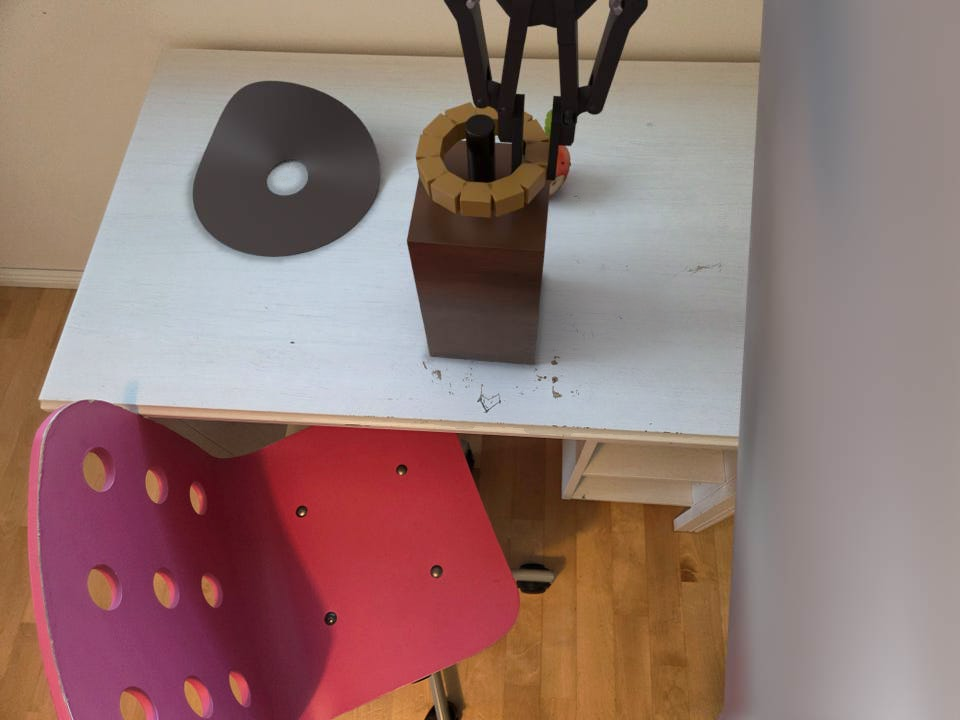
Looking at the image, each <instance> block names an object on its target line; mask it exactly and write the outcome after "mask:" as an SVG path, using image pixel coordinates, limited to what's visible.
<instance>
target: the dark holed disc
mask: <svg viewBox="0 0 960 720" xmlns="http://www.w3.org/2000/svg"><path fill="white" fill-rule="evenodd" d="M289 159H290V160H291V159H292V160H296V161H298V162H300V163H302V164H303V166H304V167H305V169H306V171H307V180H306V183H305V185H304V186H303V187H302V188H301V189H299V190H298V191H296V192H294V193H290V194H285V195H284V194H283V195H282V194H277V193H275V192H273V191H272V190H271V189H270V188H269V187H268V184H267V179H268V176H269V174H270V173H271V171H272V170H273V169H274V168H275V167H276V166H277V165H278V164H279V163H280V162H282V161H285V160H289ZM380 170H381V169H380V160H379V155H378V151H377V147H376V144H375V142H374V139H373V137H372V135H371V133H370V132H369V129H368V128H367V126H366V125H365V124H364V122H363V121H362V119H360V117H359V116H358V115H357V114H356V113H355V112H354V111H353V110H352V109H351V108H350V107H348V106H347V105H346V104H344V102H342V101H340V100H339V99H337V98H336V97H334V96H332V95H330V94H328V93H325V92H324V91H321V90H319V89H316V88H313V87H311V86H307V85H303V84H300V83H296V82H295V83H294V82H290V81H281V80H261V81H255V82H251V83H249V84H247V85H244V86H243V87H241V88H240V89H238V90H237V91H236V92H235V93H234V94H233V95H232V97H230V98H229V100H228V102H227V103H226V105H225V106H224V108H223V110H222V112H221V113H220V116H219V118H218V120H217V122H216V124H215V126H214V129H213V131H212V133H211V136H210V137H209V141H208V143H207V145H206V147H205V149H204V152H203V154H202V156H201V160H200V161H199V165H198V167H197V170H196V173H195V176H194V180H193V185H192V203H193V208H194V211H195V214H196V217H197V219H198V220H199V222H200V224H201V225H202V227H203V228H204V229H205V230H206V232H208V233H209V234H210V236H212V237H213V238H214V239H215V240H216V241H218V242H220V243H221V244H223V245H224V246H226V247H228V248H231V249H233V250H236V251H238V252H241V253H245V254H249V255H254V256H263V257H279V256H280V257H281V256H282V257H283V256H284V257H285V256H292V255H296V254H297V255H298V254H302V253H305V252H310V251H312V250H315V249H318V248H320V247H323V246H325V245H327V244H329V243H331V242H333V241H334V240H336V239H338V238H340V237H341V236H343V235H344V234H346V233H347V232H348V231H350V230H351V229H352V228H353V227H354V226H355V225H356V224H357V223H358V222H360V220H362V219H363V217H365V215H366V214H367V212H368V210H369V209H370V208H371V206H372V204H373V202H374V200H375V199H376V196H377V193H378V192H377V191H378V189H379V183H380V175H381V174H380V172H381V171H380Z"/></svg>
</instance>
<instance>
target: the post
mask: <svg viewBox="0 0 960 720" xmlns="http://www.w3.org/2000/svg"><path fill="white" fill-rule="evenodd" d="M465 133H466V139H465V141H466V149H467V165H468V181H469V182H481V183H491V182H494V181H496V159H495V143H496V136H495V122H494V120H493V119H492V118H491V117H489V116H487V115H484V114H477V115H474V116H472V117H470V118H469V119H468V120H467V121H466V124H465Z"/></svg>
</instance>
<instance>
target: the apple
mask: <svg viewBox="0 0 960 720" xmlns="http://www.w3.org/2000/svg"><path fill="white" fill-rule="evenodd" d="M545 116H546V117H545V119H544V125H543V130H544V132H545V133H546V135H547V136H548V138H549V142H550V130H551V119H552V109H550V110H549V111H548V112H546V115H545ZM571 167H572V162H571V154H570V151H569V148H568V146H560V145H559V149H558V159H557V169H556V178H555V181H553V180H551V181H550V193H549V198H550V197H551V196H553V195H554V194H555V193H556V192H557V191H558V190H559V189H560V188H561V187H562V186H563V184H564V183H565V182H566V180H567V178H568V176H569V172H570V168H571Z"/></svg>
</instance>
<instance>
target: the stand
mask: <svg viewBox="0 0 960 720" xmlns="http://www.w3.org/2000/svg"><path fill="white" fill-rule="evenodd" d="M511 154H512V143H504V142H495V159H496V180H499V179H502V178H505V177H507V176H510V175H511ZM443 162H444V164H445V166H446V168H447V170H448V171H449V172H451V173H452V174H454V175H456V176H458V177H460V178H461V179H463V180H465V181H467V182H469V181H468V165H467V149H466V140H464V139H463V140H460V141H458V142H457V143H456V144H455V145H454V146H453V147H452V148H451V149H450V150H449V151H448V152H447V153H446V154H445V156H444V161H443ZM523 162H524V157H523V155H522V163H523ZM522 163H521V164H522ZM550 181H551V180H547V181H545V185H544V187H543V188H542V189H541V190H540V191H539V192H538V193H537V195H536V196H535V197H534V198H533V199H532V200H531V201H530V202H529V204H527V203H525V202H524V207H523V208H520V209H517V210H515V211H512V212H509V213H506V214H504V215H501V216H498V217H496V216H495V214H494V212H493V210H492V215H491V218H488V217H474V216H462V215H461V209H460V210H459V211H458V213H457V214H455V213H453V212H452V211H450V210H448V209H446V208H445V207H443V206H441V205H440V204H438V203H436V202H434V201H433V198H432V196H431V197H429V195H428V193H427V192H426V190H425V188H424V186H423V184H422V182H421V180H420V178H419V177H418V180H417V185H416V191H415V194H414V195H415V196H414V201H413V206H412V211H411V216H410V221H409V226H408V232H407V237H406V245H407V250H408V255H409V260H410V265H411V269H412V270H411V271H412V275H413V280H414V285H415V289H416V294H417V298H418V305H419V309H420V315H421V319H422V324H423V328H424V334H425V339H426V344H427V348H428V349H427V350H428V354H429V357H435V358H447V359H457V360H458V359H459V360H472V361H482V362H494V363H505V364H506V363H507V364H516V365H517V364H518V365H529V366H530V365H531V366H534V365H535V358H536V349H537V338H538V328H539V327H538V326H539V318H540V317H539V316H540V306H541V295H542V285H543V284H542V283H543V275H544V266H545V265H544V264H545V252H546V243H547V242H546V241H547V229H548V215H549V205H550V204H549V203H550V197H549V193H550Z"/></svg>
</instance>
